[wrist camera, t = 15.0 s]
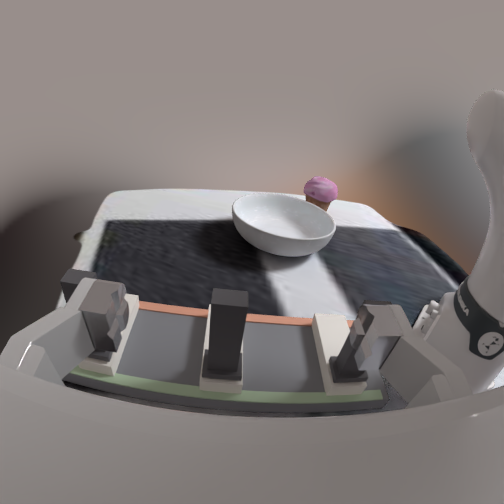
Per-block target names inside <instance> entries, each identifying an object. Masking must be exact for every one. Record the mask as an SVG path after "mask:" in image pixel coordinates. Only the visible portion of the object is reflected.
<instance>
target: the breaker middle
mask: <svg viewBox="0 0 504 504" xmlns="http://www.w3.org/2000/svg"><path fill="white" fill-rule="evenodd" d="M247 311H248V292H247V291H237V290H227V289H217V288H213V294H212V301H211V313H210V330H209V347H208V349H205V352H204V360H203V368H202V377H204V378H213V379H224V380H236V381H241V379H242V353H240V352H241V346H242V340H243V334H244V328H245V323H246V317H247Z"/></svg>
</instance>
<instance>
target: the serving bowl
mask: <svg viewBox="0 0 504 504" xmlns="http://www.w3.org/2000/svg"><path fill="white" fill-rule="evenodd" d="M232 215H233V221H234V224H235V227H236V229H237V231H238V232H239V233H240V235H241V236H242V237H243V238H244V239H245V240H246V241H247V242H249V243H250V244H251V245H253V246H255V247H256V248H258V249H261V250H263V251H265V252H268V253H272V254H276V255H281V256H290V257H296V256H305V255H309V254H312V253H315V252H317V251H319V250H320V249H322V248H323V247H324V246H326V244H327V243H328V242H329V241H330V239H331V238H332V236H333V234H334V232H335V229H336V224H335V222H334V220H333V218H332V217H331V216H330V215H329V214H328V213H327V212H326V211H324V210H323V209H321V208H319V207H318V206H316V205H314V204H312V203H309V202H307V201H304V200H302V199H299V198H295V197H291V196H287V195H281V194H273V193H255V194H249V195H245V196H242V197H240V198H238V199H237V200H236V201H235V202H234V203H233V206H232Z"/></svg>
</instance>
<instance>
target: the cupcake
mask: <svg viewBox="0 0 504 504" xmlns="http://www.w3.org/2000/svg"><path fill="white" fill-rule="evenodd" d="M304 193H305V194H306V201H307V202H309V203H312V204H314V205H316V206H318V207H319V208H321V209H323V210H324V211H327V209H328V207H329V205H330V203H331V201H333V200H335V199H336V198H337V193H338V189H337V186H336V184H335V183H333V182H332V181H330V180H329V179H326V178H324V177H319V176H315V177H313V178H312V179H311V180H309V181H308V182H307V183H306V185H305V187H304Z"/></svg>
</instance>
